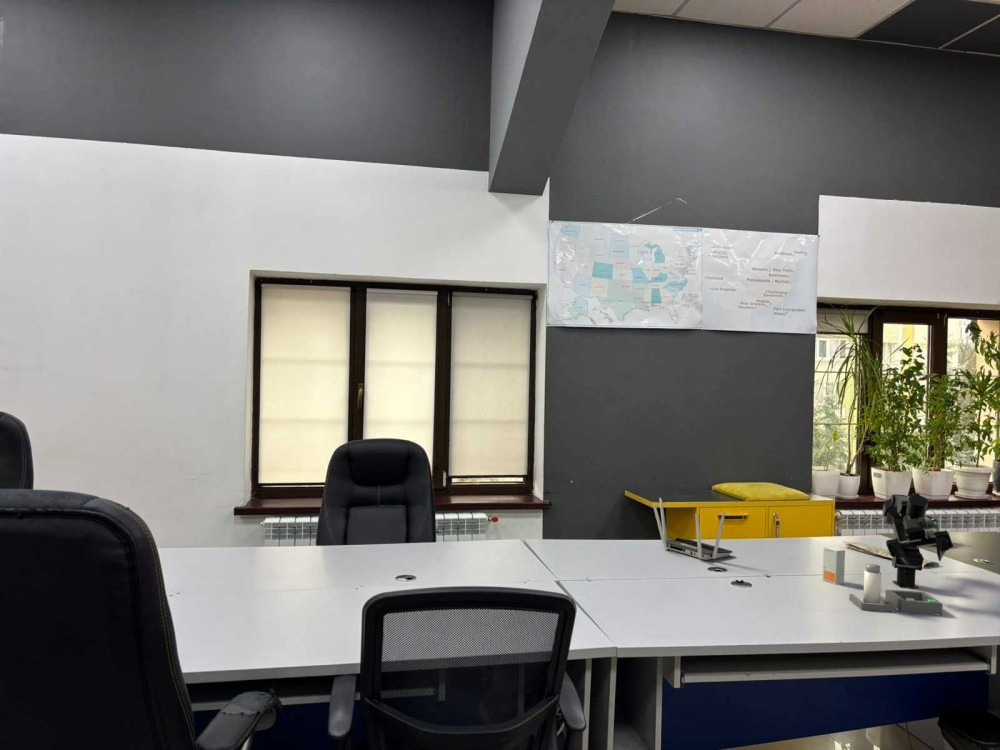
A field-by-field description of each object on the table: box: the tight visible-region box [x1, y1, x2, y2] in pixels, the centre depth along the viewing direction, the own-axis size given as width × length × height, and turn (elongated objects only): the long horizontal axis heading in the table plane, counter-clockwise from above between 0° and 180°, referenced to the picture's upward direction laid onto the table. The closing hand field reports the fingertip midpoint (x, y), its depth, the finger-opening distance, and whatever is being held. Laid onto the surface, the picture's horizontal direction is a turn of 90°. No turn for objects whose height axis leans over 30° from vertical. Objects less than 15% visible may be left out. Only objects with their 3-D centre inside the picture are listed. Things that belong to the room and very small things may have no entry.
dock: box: [884, 589, 943, 616], centre depth 231 cm, size 12×12×4 cm
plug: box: [862, 563, 882, 604], centre depth 231 cm, size 5×5×13 cm
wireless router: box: [652, 497, 734, 561], centre depth 292 cm, size 34×23×20 cm
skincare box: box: [822, 545, 846, 585], centre depth 257 cm, size 6×4×12 cm
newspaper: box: [842, 540, 940, 569], centre depth 297 cm, size 35×12×4 cm, turn 28°
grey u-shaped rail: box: [848, 593, 896, 612], centre depth 231 cm, size 10×10×2 cm
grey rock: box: [925, 515, 941, 539], centre depth 326 cm, size 15×12×14 cm
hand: (923, 562), depth 233 cm, fingers open, 9 cm apart
